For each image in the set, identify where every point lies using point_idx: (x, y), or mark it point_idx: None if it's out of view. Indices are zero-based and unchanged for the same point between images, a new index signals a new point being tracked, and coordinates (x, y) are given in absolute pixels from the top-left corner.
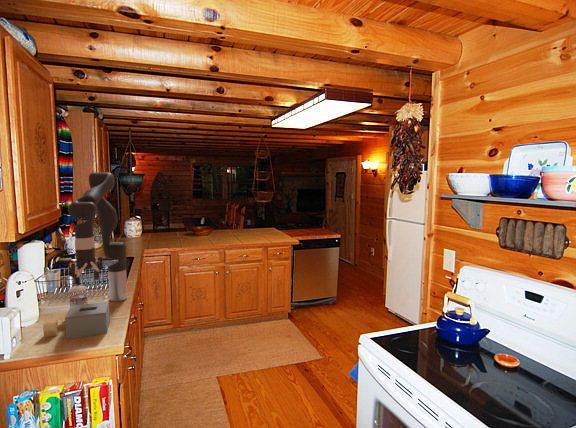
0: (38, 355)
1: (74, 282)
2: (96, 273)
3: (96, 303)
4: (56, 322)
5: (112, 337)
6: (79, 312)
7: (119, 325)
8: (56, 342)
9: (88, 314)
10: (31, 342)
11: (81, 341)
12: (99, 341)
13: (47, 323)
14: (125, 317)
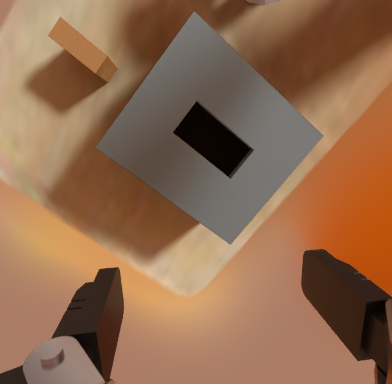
0: (8, 176)
1: (74, 300)
2: (347, 343)
3: (277, 108)
4: (98, 68)
5: (204, 251)
6: (167, 147)
7: None
8: (82, 136)
9: (177, 205)
10: (23, 54)
11: (136, 199)
12: (168, 243)
13: (67, 40)
14: (321, 156)
